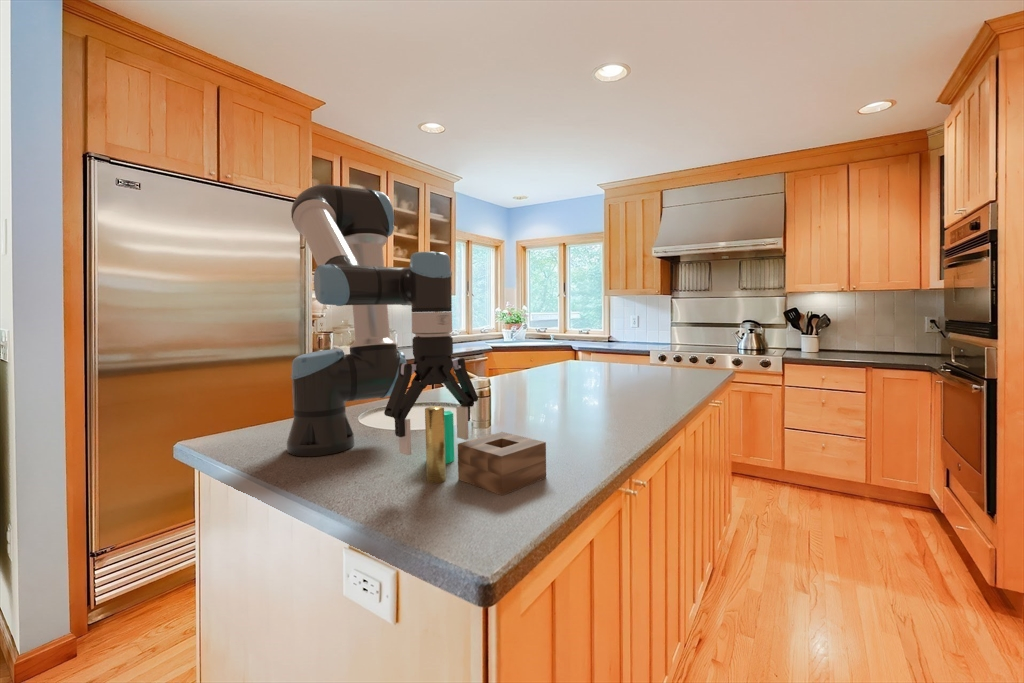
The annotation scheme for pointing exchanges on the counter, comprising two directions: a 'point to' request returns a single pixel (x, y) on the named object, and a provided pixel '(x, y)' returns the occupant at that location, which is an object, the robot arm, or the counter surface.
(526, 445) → the bore block
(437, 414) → the brass pin
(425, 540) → the counter surface
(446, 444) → the candle
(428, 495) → the counter surface
